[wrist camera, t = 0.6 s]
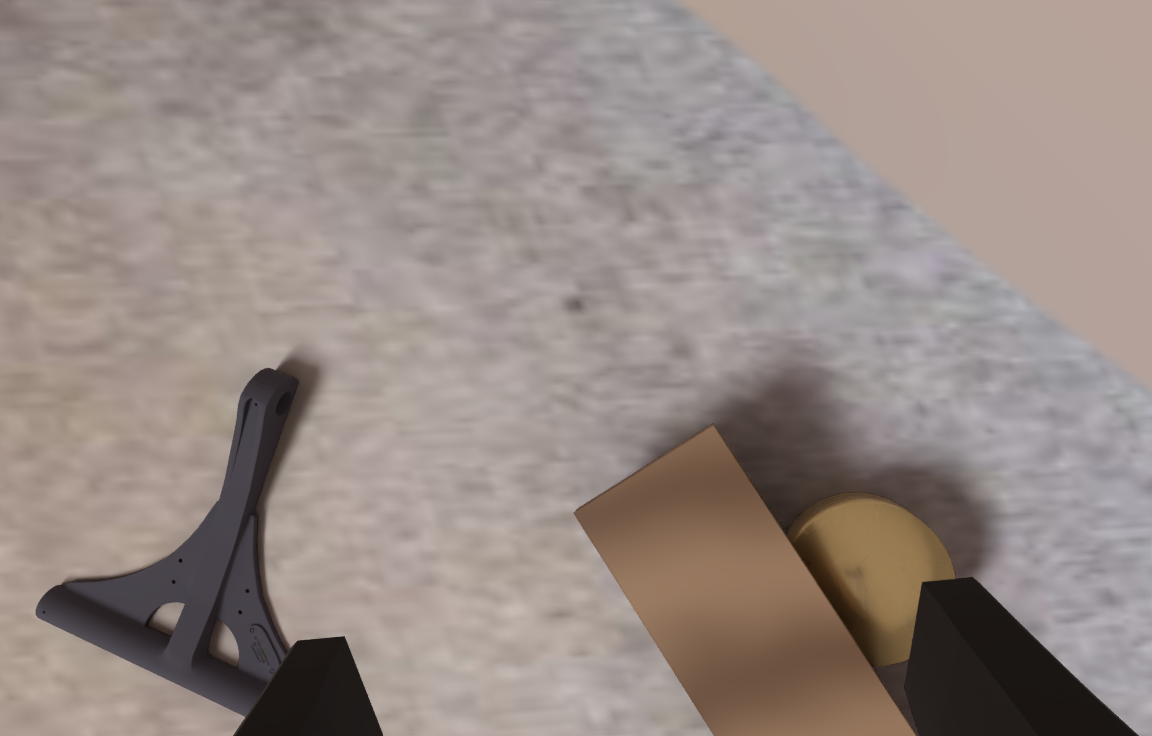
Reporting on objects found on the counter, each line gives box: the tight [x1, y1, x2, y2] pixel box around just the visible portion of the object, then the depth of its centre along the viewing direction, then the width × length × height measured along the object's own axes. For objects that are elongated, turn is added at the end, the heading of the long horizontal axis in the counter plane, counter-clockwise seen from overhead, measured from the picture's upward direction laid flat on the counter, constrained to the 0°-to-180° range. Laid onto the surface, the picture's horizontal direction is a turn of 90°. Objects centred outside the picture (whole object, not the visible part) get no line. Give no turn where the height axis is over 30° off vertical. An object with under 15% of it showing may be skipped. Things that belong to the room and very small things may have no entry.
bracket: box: [36, 368, 299, 717], centre depth 36 cm, size 14×15×3 cm
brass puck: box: [786, 492, 955, 667], centre depth 31 cm, size 6×6×2 cm
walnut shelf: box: [574, 424, 917, 736], centre depth 31 cm, size 18×6×4 cm, turn 33°
